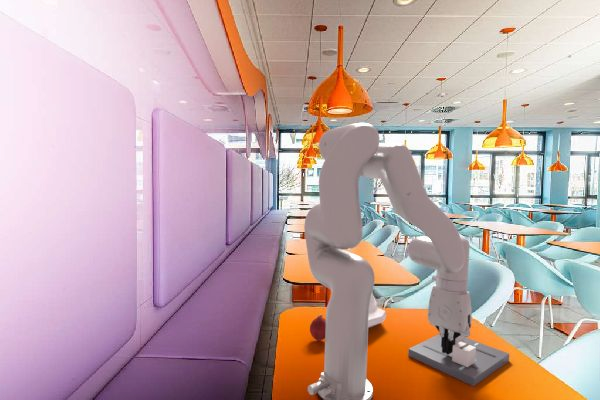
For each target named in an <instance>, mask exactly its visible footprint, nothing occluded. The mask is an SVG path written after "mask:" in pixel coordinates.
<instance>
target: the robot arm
mask: <svg viewBox="0 0 600 400" xmlns="http://www.w3.org/2000/svg"><path fill="white" fill-rule="evenodd" d="M318 151H319V154H320V156H321V157H322V158H323V160H324V162H323V164H322V166H321V169H320V172H319V177H318V189H319V190H318V194H319V195H318V196H319V203H318V204H315V205H314V206H312V207H310V209H309V211H308V213H306V216H305V220H304V225H303V226H304V227H303V229H304V230H303V231H304V239H305V245H306V251H307V252H306V253H307V259H308V265H309V269H310V272H311V275H312V277H313V278H314V279H315V281H317V282H318V283H319V284H321V285H323V286H324V287H325V288H328V290H330V291H331V295H330V298H329V300H328V303H327V306H326V310H325V320H326V331H325V338H324V339H325V341H324V364H323V365H324V369H323V372H321V373H320V377H319V378H318V380H317V381H316V382H313V383H311V384H310V385H308V386H307V392H308V393H309V395H310V396H314V395H315V394H318V395H319V397H320V398H322V399H323V400H372V398H373V395H374V393H373V392H374V388H373V385H372V383H371V382H370V381H369V380H368V379H367V373H368V372H367V370H368V369H367V367H368V366H367V365H368V345H369V344H368V343H369V341H368V340H369V328H368V318H369V305H370V299H371V295H372V293H373V290H374V288H375V272H374V269H373V267H372V265H371V264H370V263H369V262H368V261H367V259H365V258H364V257H362V256H360V255H358V254H356V253H353V252H350V251H347V250H351V249H354V248H356V247H357V246H358V245H359V244H360V243H361V241H362V238H363V232H364V230H363V229H364V228H363V219H362V217H363V216H362V209H361V201H360V194H359V193H360V192H359V189H360V188H359V183H360V182H359V181H360V178H361V177H364V178H367V179H379V180H381V183H382V185H383V187H384V189H385V192H386V195H387V197H388V199H389V201H390V204H391V206H392V209H393V211H394V212H395V213H396V214H397V215H398V216H399V217H401V218H402V219H403V220H404V221H406V222H408V223H409V224H411V225H413V226H414V227H416V228H418V230H420V231H422V233H423V234H424V235H422V236H417V237H415V238H413V239H412V240H411V241H410V242H409V243H408V245H407V256H408V257H409V258H410V260H411V261H412V262H413V263H415V264H417V265H420V266H422V267H425V268H427V269H432V270H435V271H436V275H435V274H434V275H432V277H431V279H432V281H434V282H435V284H434V285H433V286H432V288H431V291H430V295H429V301H428V307H427V320H428V322H429V324H430V325H431V326H433V327H434V328H436V329H437V331H438V332H439V334H440V336H441V337H442V341H441V347H442V352H443V353H446V354H450V353H452V352H453V345H455V339H456V338H457V337H459V336H461V337H466V338H468V337H470V336H471V330H470V329H471V328H472V313H473V312H472V301H471V294H470V291H468V280H469V279H468V276H469V261H470V241H469V240H468V239H467V238H465V237H461V235H460V232H459V231H458V228H457V227H456V224H454V222H453V221H452V220H451V219H450V218H449V217H448V215H446V214H445V212H444V211H443V210H442V209H441V208H440V207H439V206H438V205H437V204H436V203H435V202H433V201H432V199H430V196H429V195H428V193H427V190H426V187H425V186H424V183H423V180H422V178H421V175H420V173H419V169H418V168H417V165H416V162H415V160H414V158H413V155H412V152H411V151H410V149H409V148H408V147H407V146H406V145H405V144H402V143H400V142H399V143H398V142H385V143H380V135H379V131H378V129H377V128H376V127H375V126H374V125H373V124H370V123H366V122H358V123H351V124H346V125H343V126H338V127H334V128H331V129H328V130H327V131H325V132H324V133H323V134H322V135H321V137H320V139H319V141H318ZM360 176H361V177H360ZM449 330H450V331H449Z"/></svg>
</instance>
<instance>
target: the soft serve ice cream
mask: <svg viewBox="0 0 600 400" xmlns="http://www.w3.org/2000/svg"><path fill="white" fill-rule="evenodd" d="M386 318H387V312H386V310H384V309H381V308H380V307H378V302H377V300H376V299H375V296H374V293H373V292H372V295H371V299H370V305H369V318H368V329H369V328H372V327H375V326H376V325H379V324H381V323H383V322H384V321H385V319H386Z"/></svg>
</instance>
